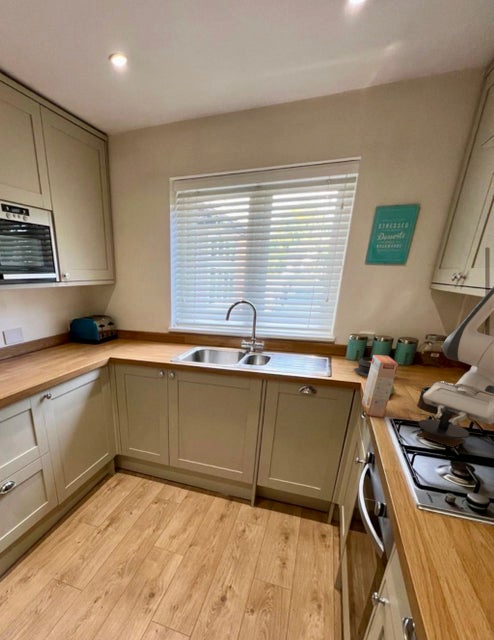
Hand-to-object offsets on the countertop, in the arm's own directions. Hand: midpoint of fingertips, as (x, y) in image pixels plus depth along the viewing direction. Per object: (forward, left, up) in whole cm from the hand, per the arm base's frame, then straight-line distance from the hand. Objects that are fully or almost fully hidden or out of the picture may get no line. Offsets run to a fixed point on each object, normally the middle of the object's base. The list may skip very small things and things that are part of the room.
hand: (444, 421), depth 105 cm
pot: (+11, -26, -6) cm, 28 cm away
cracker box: (+25, -6, -6) cm, 26 cm away
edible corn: (+31, -28, -6) cm, 43 cm away
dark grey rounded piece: (+53, -58, -6) cm, 78 cm away
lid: (0, -1, -3) cm, 3 cm away
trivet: (0, -1, -6) cm, 6 cm away
